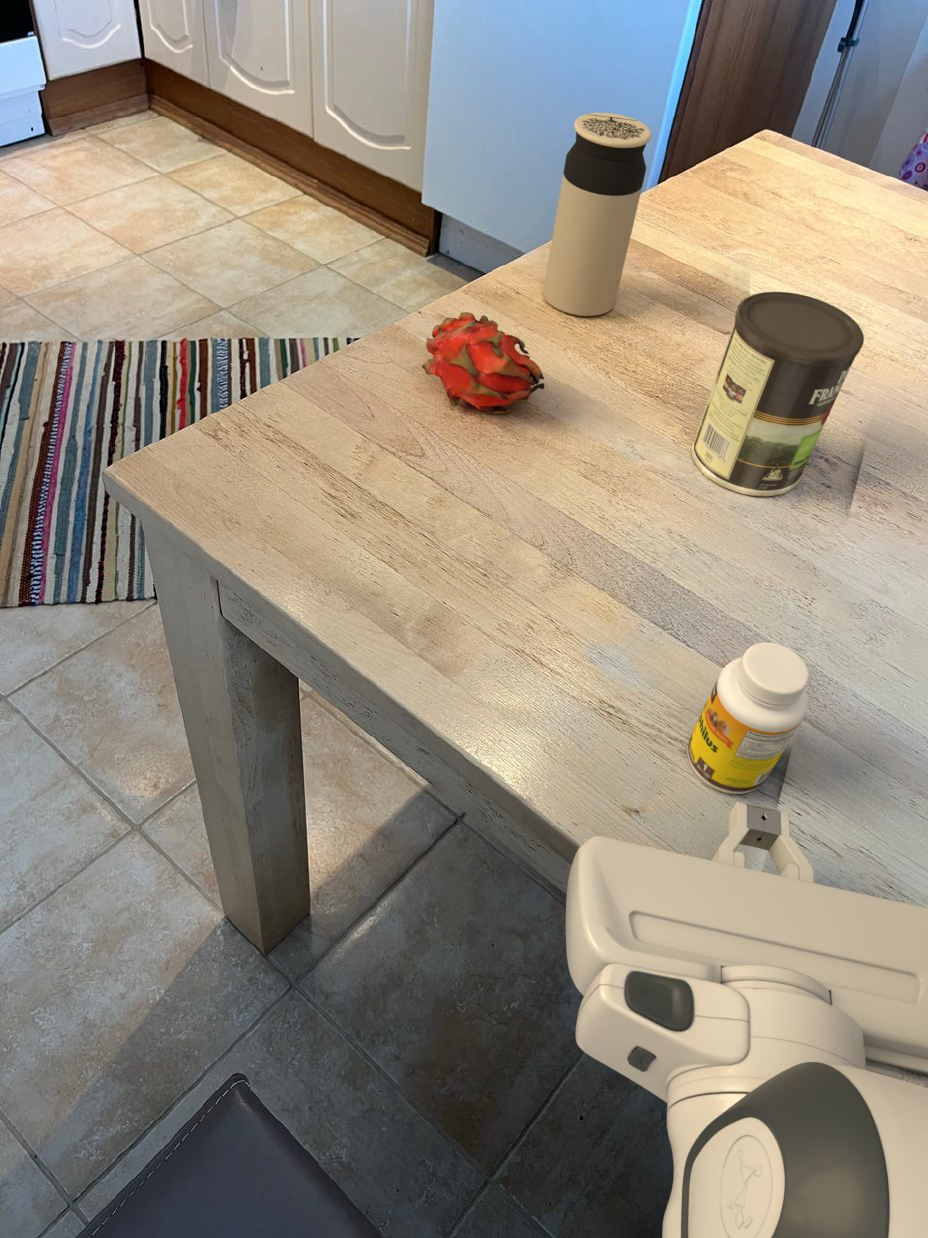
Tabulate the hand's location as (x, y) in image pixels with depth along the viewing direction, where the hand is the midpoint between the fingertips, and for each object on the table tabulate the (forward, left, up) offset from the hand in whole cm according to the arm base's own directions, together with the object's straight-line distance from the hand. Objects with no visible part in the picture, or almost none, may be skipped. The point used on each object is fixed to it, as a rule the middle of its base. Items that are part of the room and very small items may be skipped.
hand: (758, 812), depth 54 cm
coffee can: (+8, -42, -6) cm, 43 cm away
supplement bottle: (+2, -8, -6) cm, 10 cm away
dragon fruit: (+33, -38, -6) cm, 50 cm away
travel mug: (+31, -61, -6) cm, 68 cm away
